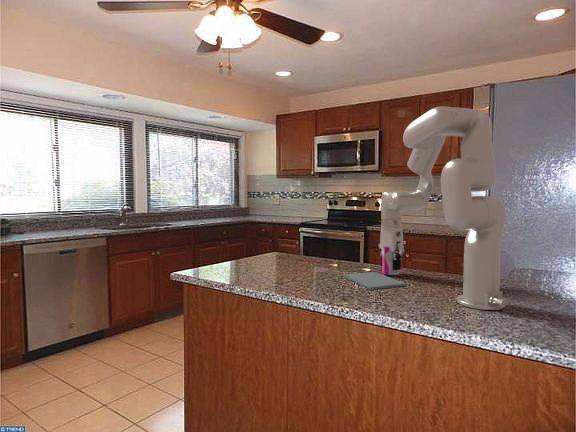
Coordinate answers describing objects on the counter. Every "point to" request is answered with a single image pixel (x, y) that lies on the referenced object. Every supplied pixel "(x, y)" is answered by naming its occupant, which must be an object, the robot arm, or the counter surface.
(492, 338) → the counter surface
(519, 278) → the counter surface
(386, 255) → the supplement box
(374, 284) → the rubber mat
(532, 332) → the counter surface
